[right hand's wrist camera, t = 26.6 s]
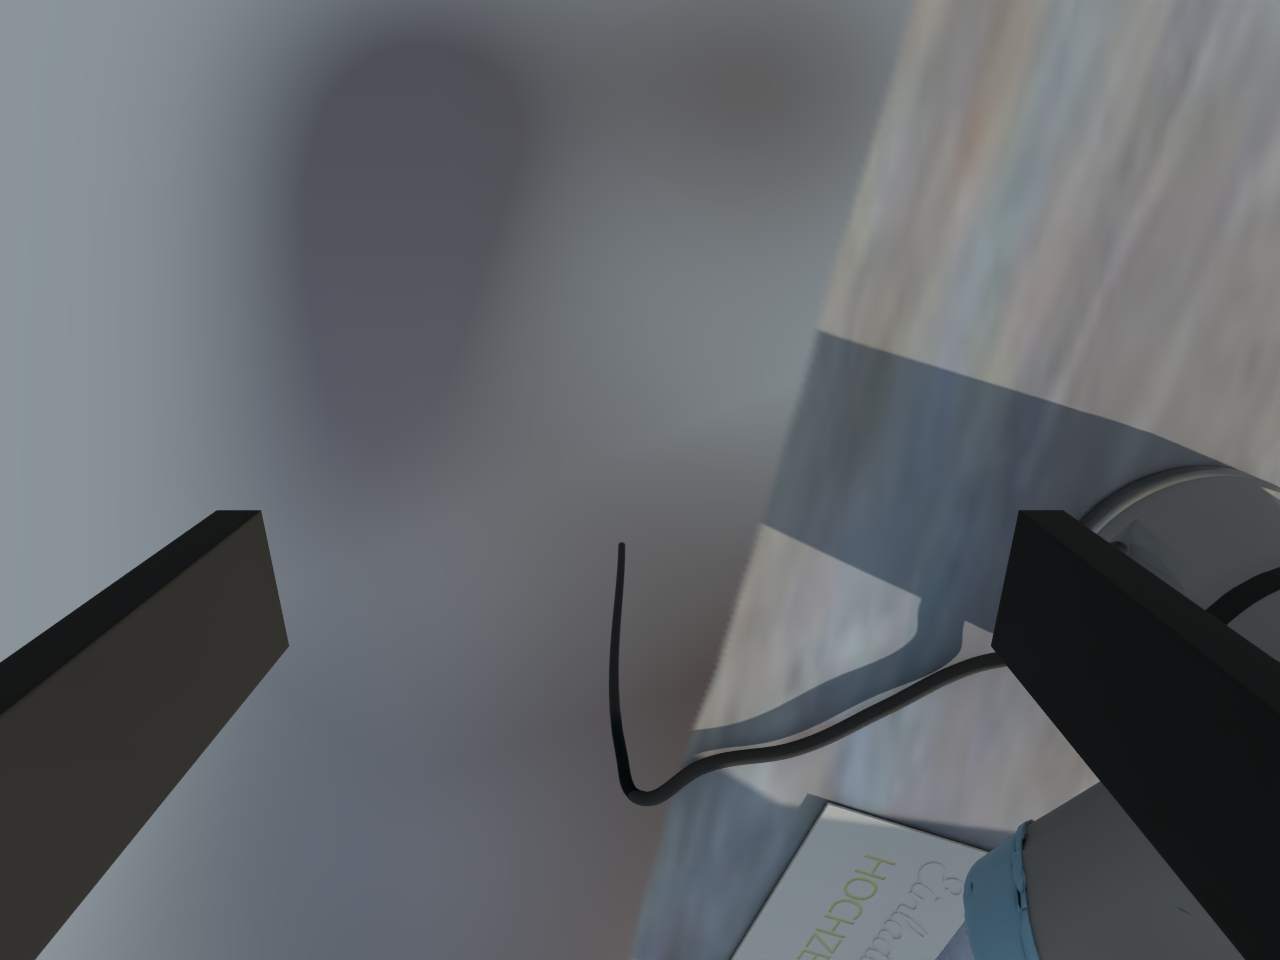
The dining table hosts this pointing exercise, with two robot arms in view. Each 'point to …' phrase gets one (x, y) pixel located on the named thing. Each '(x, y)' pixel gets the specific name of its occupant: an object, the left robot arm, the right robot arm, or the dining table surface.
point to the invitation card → (863, 894)
